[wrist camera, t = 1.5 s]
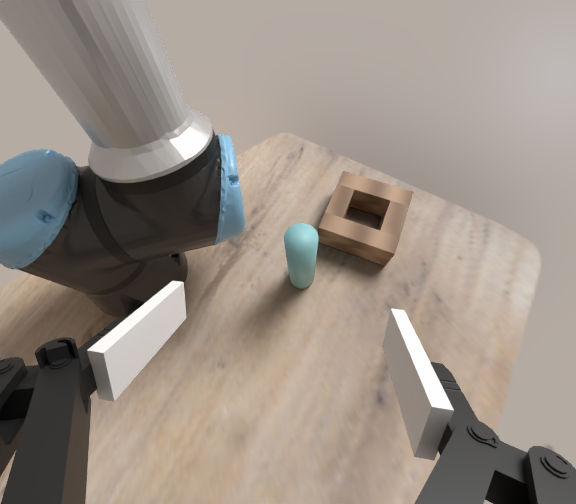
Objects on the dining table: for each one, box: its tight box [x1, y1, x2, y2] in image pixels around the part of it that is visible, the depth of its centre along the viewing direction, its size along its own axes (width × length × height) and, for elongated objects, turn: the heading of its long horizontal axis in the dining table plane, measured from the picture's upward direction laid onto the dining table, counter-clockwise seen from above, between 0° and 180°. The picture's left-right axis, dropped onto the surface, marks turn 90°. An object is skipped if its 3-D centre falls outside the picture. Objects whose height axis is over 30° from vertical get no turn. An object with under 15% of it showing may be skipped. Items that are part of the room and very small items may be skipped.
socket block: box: [318, 171, 413, 266], centre depth 45 cm, size 12×12×5 cm
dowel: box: [284, 223, 318, 289], centre depth 37 cm, size 4×4×14 cm
